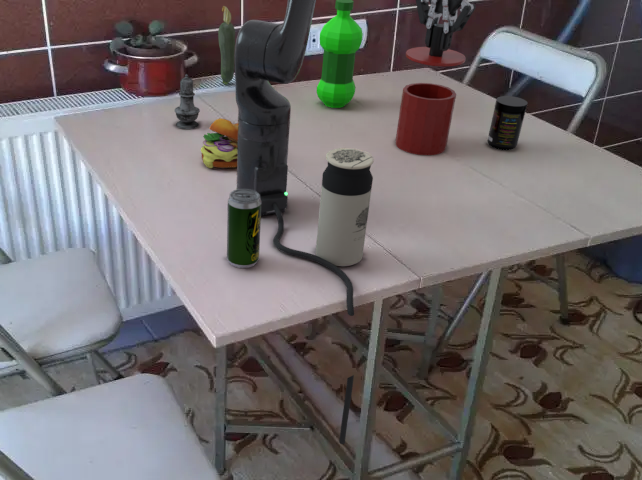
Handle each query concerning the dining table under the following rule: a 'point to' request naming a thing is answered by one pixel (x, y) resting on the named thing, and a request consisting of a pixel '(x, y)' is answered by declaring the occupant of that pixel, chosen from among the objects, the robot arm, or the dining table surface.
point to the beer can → (243, 228)
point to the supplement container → (506, 122)
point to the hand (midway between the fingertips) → (436, 48)
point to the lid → (435, 52)
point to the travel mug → (344, 206)
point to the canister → (425, 118)
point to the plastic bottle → (339, 56)
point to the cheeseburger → (221, 145)
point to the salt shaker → (187, 105)
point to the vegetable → (227, 47)
